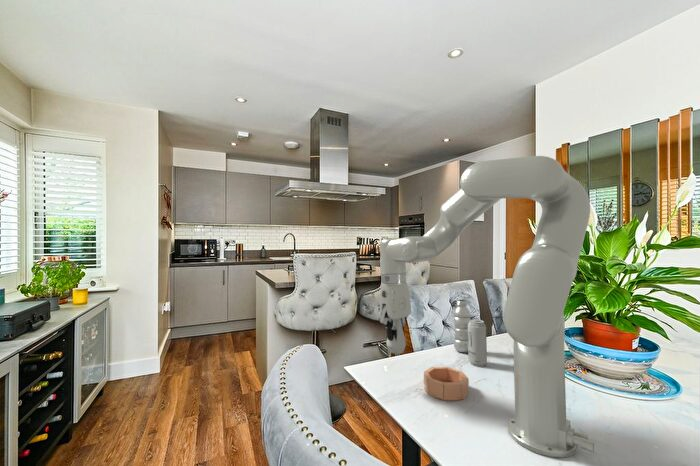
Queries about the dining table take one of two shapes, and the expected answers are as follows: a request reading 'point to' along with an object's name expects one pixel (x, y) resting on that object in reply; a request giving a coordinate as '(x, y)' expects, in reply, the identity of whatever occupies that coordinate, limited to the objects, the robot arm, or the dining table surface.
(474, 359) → the energy drink can
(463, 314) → the plastic bottle
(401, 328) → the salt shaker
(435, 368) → the octagonal orange bowl
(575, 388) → the dining table surface
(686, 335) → the dining table surface
